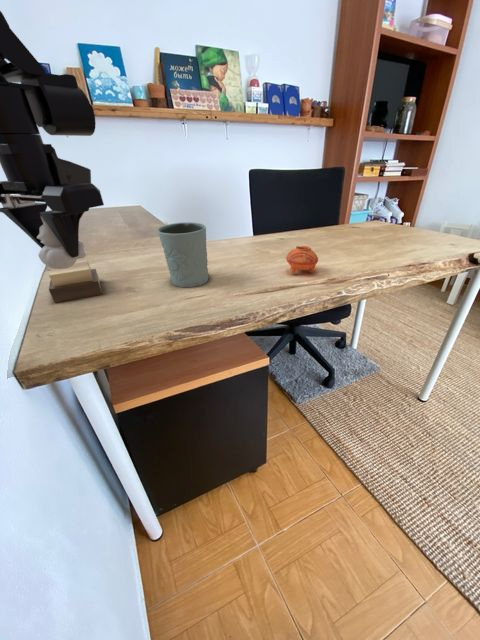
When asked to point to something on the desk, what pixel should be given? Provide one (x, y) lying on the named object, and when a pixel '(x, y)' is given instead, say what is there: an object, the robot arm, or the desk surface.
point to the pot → (302, 259)
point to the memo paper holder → (74, 282)
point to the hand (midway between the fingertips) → (62, 254)
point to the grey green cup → (185, 253)
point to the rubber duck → (55, 250)
